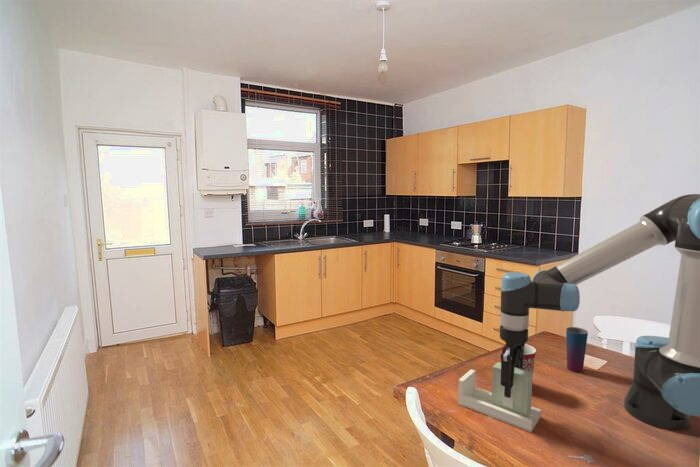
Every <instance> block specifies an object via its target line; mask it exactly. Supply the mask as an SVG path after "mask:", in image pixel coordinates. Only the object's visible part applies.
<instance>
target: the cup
mask: <svg viewBox="0 0 700 467" xmlns="http://www.w3.org/2000/svg"><path fill="white" fill-rule="evenodd" d="M588 333H589V332H588V330H587V329H585V328H582V327H578V326H568V327H566V330H565V334H566V335H565V336H566V369H567V370H568V371H570V372H573V373H578V374H579V373H583V371H584V366H585V358H586V350H587V344H588V335H589V334H588Z"/></svg>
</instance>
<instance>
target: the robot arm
mask: <svg viewBox="0 0 700 467" xmlns="http://www.w3.org/2000/svg"><path fill="white" fill-rule="evenodd" d="M673 242H674V249H676V251H677V252H679V254H680V261H679V268H678V274H677V275H678V276H677V280H676V281H677V282H676V288H675V293H674V294H675V296H674V302H673V306H672V307H673V308H672V314H671V320H670V321H671V322H670V329H669V334H668V335H669V336H668V337H665V336H657V335H656V336H655V335H641V336H638V337H637V338H636V341H635V346H634V361H633V362H634V364H633V376H632V377H633V378H632V383H631V385H630V387H629V389H628V391H627V392H626V393H625V394H626V395H625V396H624V398H623V408H624V409H625V411H626V412H628V414H629V415H631V416H632V417H634V418H635V419H638V420H639V421H641V422H644V423H645V424H648V425H652V426H653V427H657V428H661V429H666V430H674V431H676V430H677V431H679V430H685V429H687V427H688V426H689V425H690V426H691V416H695V417H700V194H697V193H693V194H691V193H690V194H685V195H684V194H683V195H681V196H678V197H676V198H674V199H671V200H669V201H668V202H665V203H664V204H662V205H660V206H658V207H656V208H655V209H652V210H651V211H649V212H648V213H645V214H643V215H642V216H640V218H639V221H638V222H636V223H635V224H632V225H631V226H629V227H627V228H625V229H624V230H621V231H619V232H618V233H615V235H614V234H613V235H612V236H610V237H608V238H605V240H602V241H601V242H598V243H597V244H595V245H593V246H592V247H589V248H588V249H585V250H584V251H582V252H580V253H578V254H576V255H574V256H572V257H570V258H568V259H566V260H564V261H563V262H561V263H559V264H557V265H556V266H554V267H551V268H549V269H547V270H546V269H543V270H539V271H537V272H535V274H534V275H533V276H532V278H531V276H530V275H529V274H527V273H524V272H517V271H515V272H514V271H513V272H506V273H504V274H503V275H502V278H501V286H500V312H499V313H498V316H500V319H499V320H500V322H499V324H500V326H499V338H500V339H501V340H502V341H504V343H505V345H504V346H503V347H504V354H503V353H502V352H501V353H500V363H501V382H500V384H501V385H502V386H504V391H503V405H504V406H507V407H509V408H512V409H513V406H514V386H513V380H514V371H515V367H517V368H520V369H523V358H524V346H525V344H527V343H528V341H529V329H528V328H529V327H530V309H537V310H548V311H559V312H576V311H578V309H579V306H580V303H581V302H580V300H581V298H580V297H581V295H580V289H579V287H578V285H579V284H581V283H583V282H586V281H587V280H589V279H591V278H594V277H595V276H597V275H599V274H601V273H603V272H605V271H607V270H609V269H611V268H613V267H615V266H617V265H619V264H621V263H623V262H625V261H627V260H630V259H631V258H634V257H635V256H637V255H640V254H641V253H643V252H645V251H647V250H649V249H652V248H653V247H655V246H657V245H660V246H667V245H668V244H670V243H673ZM690 426H689V427H690ZM689 427H688V428H689Z"/></svg>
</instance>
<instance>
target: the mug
mask: <svg viewBox="0 0 700 467" xmlns="http://www.w3.org/2000/svg"><path fill="white" fill-rule="evenodd" d="M501 353H503V354H504V346H503V347H502V351H501ZM536 353H537V349H536V348H535V347H534V346H532V345H529V344H527V343H525V346H524V358H523V369H524V370H527V371H530V372H533V373H534V370H535V369H534V367H535V358H536ZM533 376H534V374H533V375H532V378H533Z"/></svg>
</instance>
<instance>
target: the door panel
mask: <svg viewBox="0 0 700 467" xmlns="http://www.w3.org/2000/svg"><path fill="white" fill-rule="evenodd" d="M491 373H492V377H491V378H492V379H491V380H492V381H491V393H492V403H491V404H492V405H495V406H497V407H500V408H503V409H505V410H508V411H511V412H513V413H516V414H519V415H522V416H524V417H527V416H528V415H529V413H530V412H531V407H532V399H533V398H532V396H533V395H532V394H533V377H532V375H533V376H534V371H533V372H530V371H527V370H524V369H520V368H517V367H515V371H514V380H513V386H514V406H513V409H512V408H509V407H507V406H504V405H503V391H504V386H502V385H501V384H500V382H501V361H500V362H498V361H497V362H496V363H495V364H493V366H492V372H491Z"/></svg>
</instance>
